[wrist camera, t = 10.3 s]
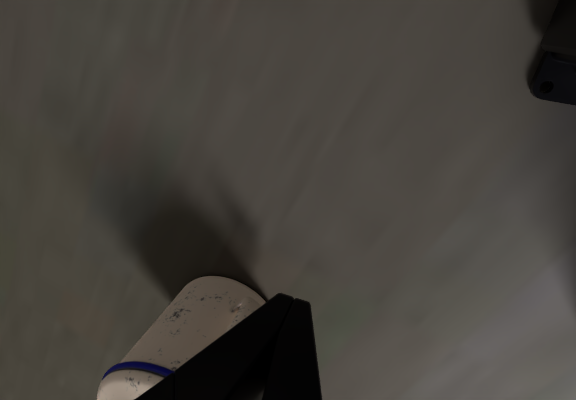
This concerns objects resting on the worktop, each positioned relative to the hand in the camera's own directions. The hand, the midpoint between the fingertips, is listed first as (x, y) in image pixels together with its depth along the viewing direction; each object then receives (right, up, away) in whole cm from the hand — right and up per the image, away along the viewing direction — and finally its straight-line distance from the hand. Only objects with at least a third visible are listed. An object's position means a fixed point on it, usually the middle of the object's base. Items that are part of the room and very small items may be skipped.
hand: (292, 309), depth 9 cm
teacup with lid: (-4, -6, +18) cm, 20 cm away
